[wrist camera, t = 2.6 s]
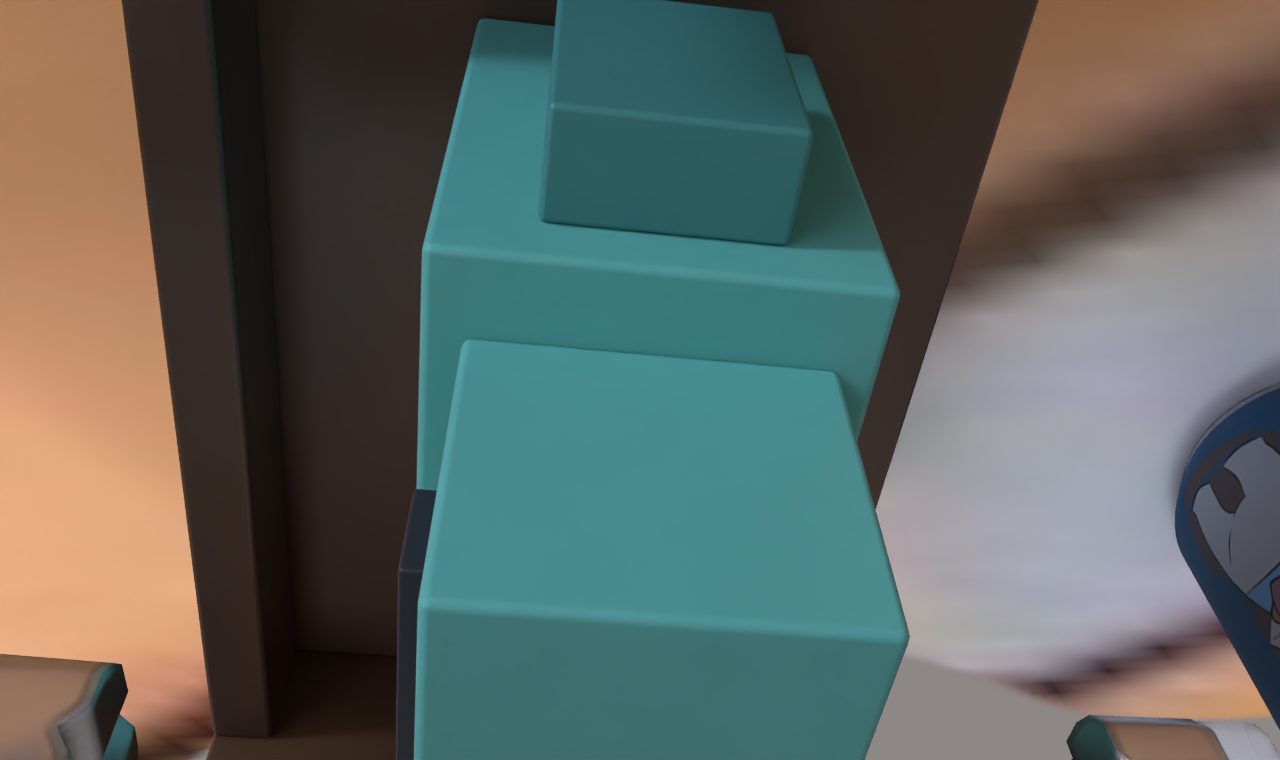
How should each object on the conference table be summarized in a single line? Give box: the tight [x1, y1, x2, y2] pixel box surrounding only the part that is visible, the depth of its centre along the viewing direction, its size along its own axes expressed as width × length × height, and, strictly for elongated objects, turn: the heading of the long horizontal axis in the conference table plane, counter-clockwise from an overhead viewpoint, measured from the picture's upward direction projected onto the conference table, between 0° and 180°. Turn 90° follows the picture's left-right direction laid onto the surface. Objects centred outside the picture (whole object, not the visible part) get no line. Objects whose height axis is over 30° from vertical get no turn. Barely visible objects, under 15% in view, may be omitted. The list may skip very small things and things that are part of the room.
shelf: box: [122, 0, 1038, 760], centre depth 18 cm, size 11×22×14 cm, turn 173°
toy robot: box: [396, 0, 910, 760], centre depth 14 cm, size 4×8×9 cm, turn 173°
